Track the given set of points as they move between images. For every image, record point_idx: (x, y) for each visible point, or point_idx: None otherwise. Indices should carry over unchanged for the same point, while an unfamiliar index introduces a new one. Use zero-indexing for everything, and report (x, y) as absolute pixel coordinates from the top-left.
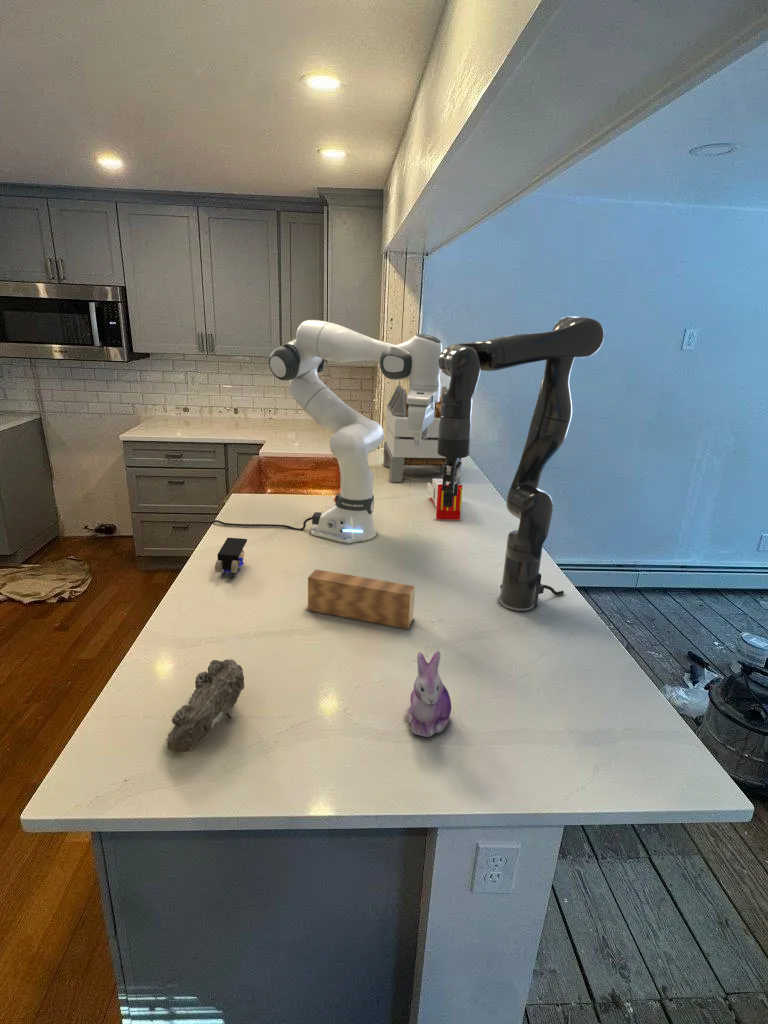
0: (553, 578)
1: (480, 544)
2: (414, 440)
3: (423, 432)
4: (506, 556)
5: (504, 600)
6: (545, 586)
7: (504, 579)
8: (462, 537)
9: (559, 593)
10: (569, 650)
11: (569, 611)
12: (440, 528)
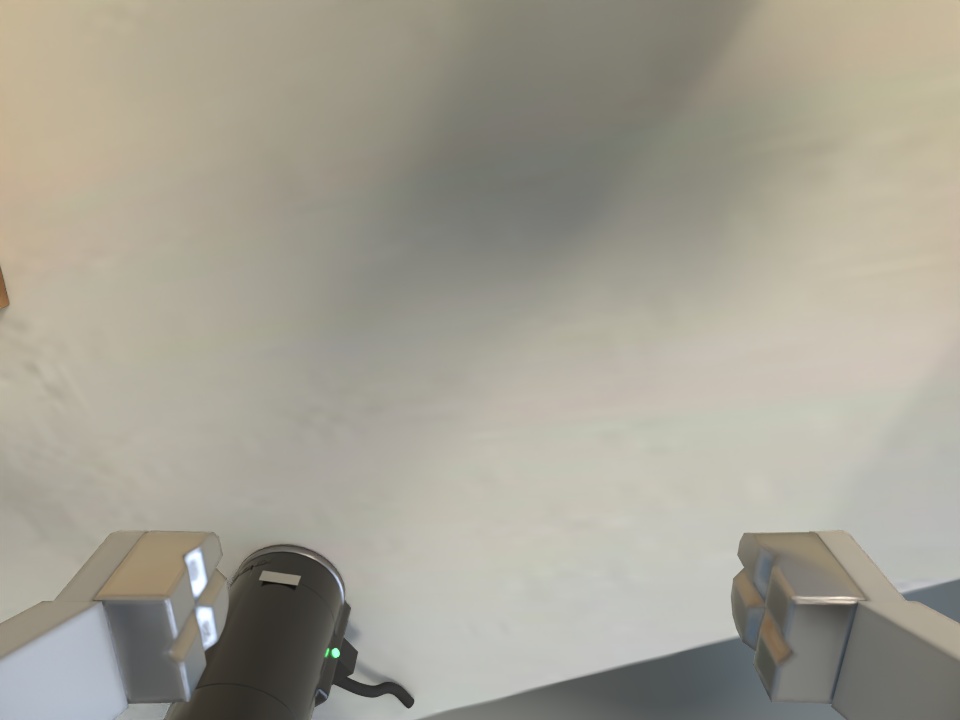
0: (518, 678)
1: (764, 447)
2: (56, 600)
3: (871, 651)
4: (201, 684)
5: (241, 572)
6: (346, 689)
7: (227, 615)
8: (833, 367)
9: (396, 696)
10: None
11: None
12: (940, 251)
